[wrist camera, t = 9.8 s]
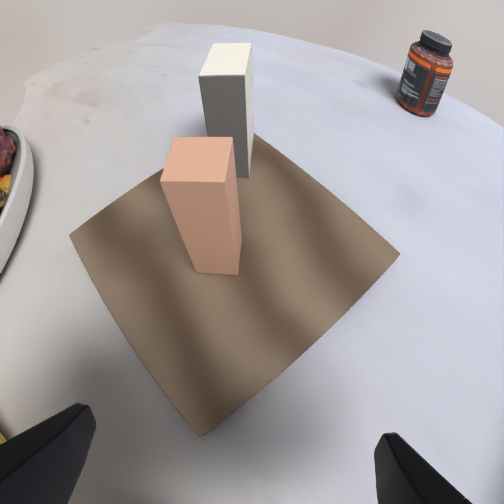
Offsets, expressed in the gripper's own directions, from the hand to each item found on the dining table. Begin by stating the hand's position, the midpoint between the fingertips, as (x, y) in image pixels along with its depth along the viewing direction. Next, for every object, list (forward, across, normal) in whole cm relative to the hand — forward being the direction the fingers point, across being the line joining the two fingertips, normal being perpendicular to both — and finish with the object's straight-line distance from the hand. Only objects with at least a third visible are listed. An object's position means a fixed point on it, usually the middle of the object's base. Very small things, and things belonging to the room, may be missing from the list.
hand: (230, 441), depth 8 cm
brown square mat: (+18, +3, 0) cm, 18 cm away
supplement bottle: (+35, -20, -17) cm, 44 cm away
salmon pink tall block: (+16, +3, 0) cm, 16 cm away
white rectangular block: (+24, +3, -8) cm, 25 cm away
